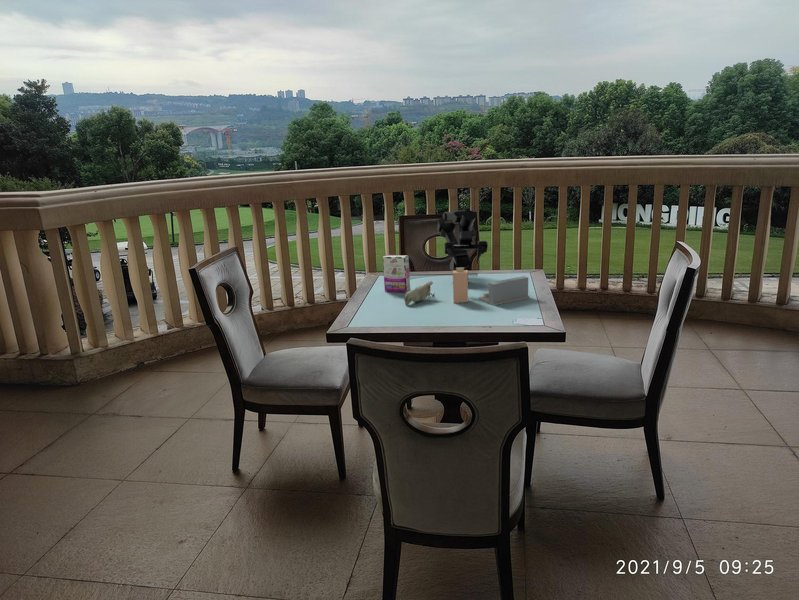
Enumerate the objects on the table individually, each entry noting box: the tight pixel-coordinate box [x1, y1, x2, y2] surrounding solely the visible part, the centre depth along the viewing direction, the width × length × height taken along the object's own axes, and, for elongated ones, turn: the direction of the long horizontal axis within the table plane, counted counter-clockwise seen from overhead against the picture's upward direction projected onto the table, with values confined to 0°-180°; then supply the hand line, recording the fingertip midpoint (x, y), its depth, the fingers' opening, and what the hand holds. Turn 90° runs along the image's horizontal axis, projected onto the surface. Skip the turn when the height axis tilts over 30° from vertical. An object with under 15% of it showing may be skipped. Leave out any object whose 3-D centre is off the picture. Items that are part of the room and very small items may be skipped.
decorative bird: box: [404, 280, 436, 306], centre depth 231 cm, size 5×16×8 cm, turn 132°
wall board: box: [478, 275, 530, 306], centre depth 228 cm, size 11×18×9 cm, turn 117°
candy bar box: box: [382, 254, 411, 293], centre depth 247 cm, size 11×5×16 cm, turn 68°
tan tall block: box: [452, 268, 469, 304], centre depth 227 cm, size 4×6×15 cm, turn 84°
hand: (467, 263), depth 235 cm, fingers open, 9 cm apart
